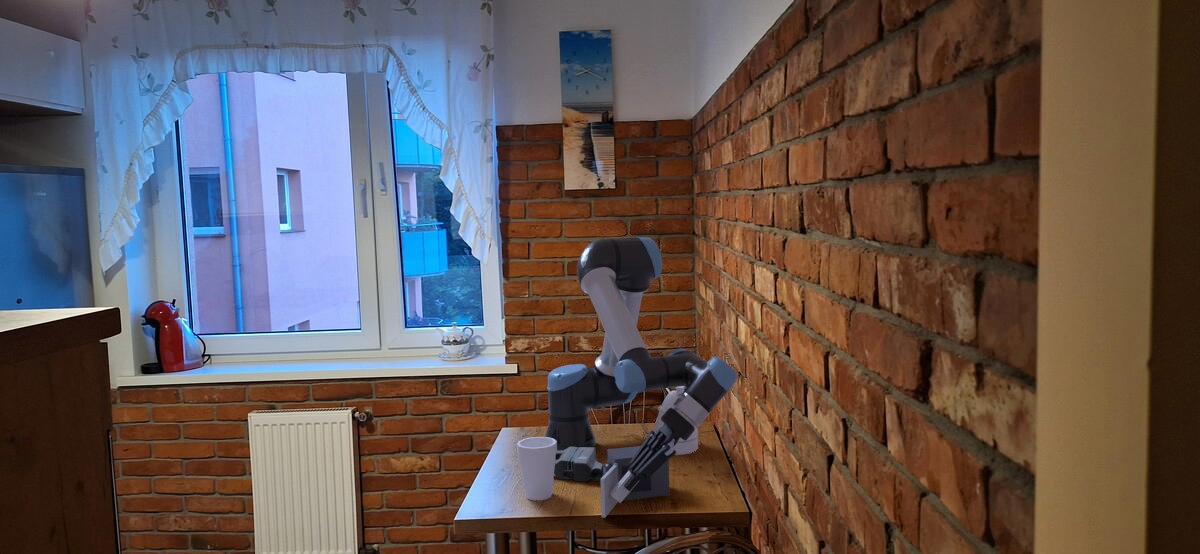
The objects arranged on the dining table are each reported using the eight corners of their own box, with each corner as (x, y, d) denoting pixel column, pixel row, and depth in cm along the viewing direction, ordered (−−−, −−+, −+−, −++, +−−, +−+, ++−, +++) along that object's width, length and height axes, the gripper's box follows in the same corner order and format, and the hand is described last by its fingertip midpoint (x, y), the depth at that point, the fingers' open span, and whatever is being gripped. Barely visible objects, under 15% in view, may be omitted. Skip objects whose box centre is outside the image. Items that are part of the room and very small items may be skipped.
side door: (619, 501, 169) (618, 463, 169) (605, 518, 159) (604, 478, 159) (615, 500, 170) (614, 462, 169) (601, 518, 160) (599, 477, 159)
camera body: (601, 490, 177) (600, 446, 177) (659, 483, 180) (658, 441, 180) (609, 502, 169) (608, 456, 168) (669, 495, 172) (668, 450, 172)
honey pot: (706, 445, 211) (704, 384, 210) (684, 457, 200) (682, 393, 199) (667, 439, 218) (666, 379, 217) (644, 450, 208) (643, 388, 207)
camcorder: (596, 459, 202) (595, 441, 201) (607, 484, 182) (606, 463, 181) (537, 464, 200) (536, 446, 199) (542, 490, 179) (541, 469, 179)
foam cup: (534, 486, 181) (532, 435, 181) (565, 492, 177) (563, 439, 176) (511, 499, 173) (509, 445, 172) (543, 505, 169) (541, 450, 168)
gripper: (663, 399, 170) (596, 477, 167) (681, 413, 157) (609, 498, 154) (685, 419, 171) (619, 497, 169) (705, 435, 158) (634, 519, 156)
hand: (615, 498), depth 162 cm, fingers closed
